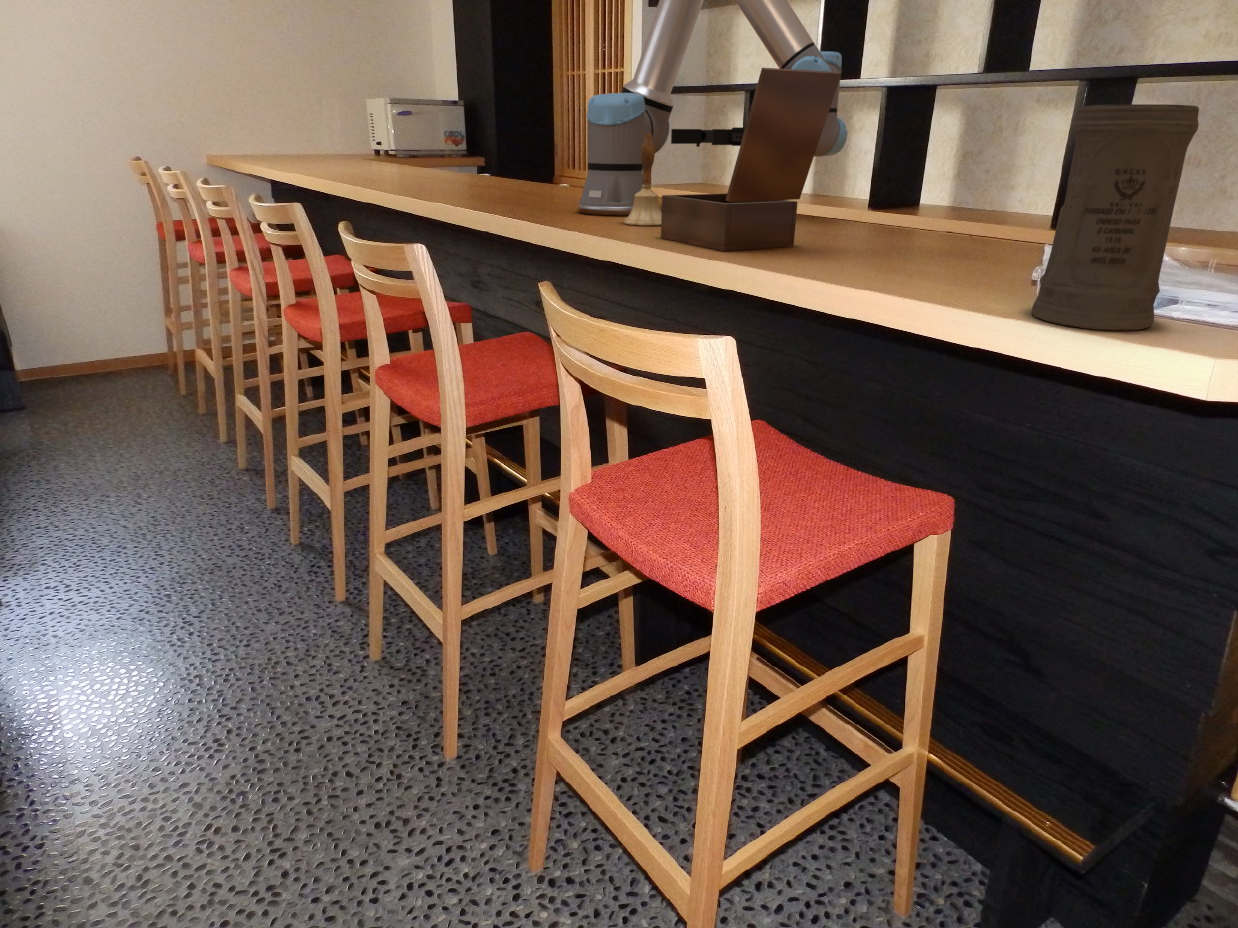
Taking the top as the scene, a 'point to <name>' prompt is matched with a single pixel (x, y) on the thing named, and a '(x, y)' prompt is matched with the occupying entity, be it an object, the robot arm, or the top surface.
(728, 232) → the chest
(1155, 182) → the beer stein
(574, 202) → the top surface
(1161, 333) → the top surface
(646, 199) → the wooden handled brush
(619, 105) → the robot arm
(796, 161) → the chest lid
